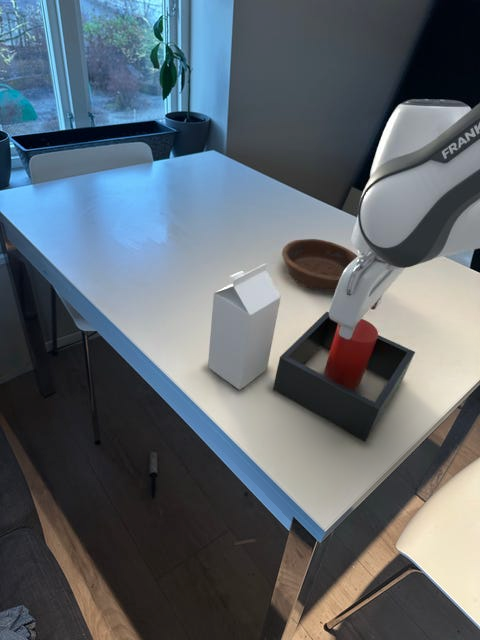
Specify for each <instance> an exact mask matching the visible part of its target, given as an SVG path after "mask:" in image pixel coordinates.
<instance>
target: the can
mask: <svg viewBox="0 0 480 640" xmlns="http://www.w3.org/2000/svg"><path fill="white" fill-rule="evenodd" d="M340 327H341V324H339V323H338V326H337V329H336V333H335V336H334V340H333V343H332V346H331V350H330V351H329V353H328V356H327V360H326V363H325V367H324V369H323V373H322V375H324V376H326V377H328V378H330V379H332V380H334V381H336V382H337V383H339V384H341V385H343V386H345V387H347V388H349V389H351V390H353V391H355V392H356V393H358V391H359V388H360V385H361V383H362V380H363V377H364V375H365V372H366V370H367V369H366V367H367V364H368V361H369V359H370V356H371V353H372V351H373V348H374V345H375V343H376V340H377V337H378V335H379V331H378V329H377V328H376V326H375V325H374V324H372V323H371V322H370V321H367V320H365V319H363V318H362V319H361V320H360V321H359V322H358V323H357V327H356V330H355V333H354V335H353V336H352V337H351V338H350V339H346V338H343V337H341V336H340V335H339V330H340Z"/></svg>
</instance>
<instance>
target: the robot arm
mask: <svg viewBox="0 0 480 640" xmlns="http://www.w3.org/2000/svg"><path fill="white" fill-rule="evenodd" d="M364 186H365V187H364V188H363V191H362V193H361V196H360V199H359V204H358V208H357V209H358V210H357V211H358V212H357V217H356V220H355V223H354V227H353V230H352V234H351V237H350V241H351V242H350V243H351V245H352V246H353V247H354V248H355V249H356V255H357V256H358V257H357V258H356V259H354V260H353V261H352V262H351V263H350V264H349V265H348V266H347V267H346V269H345V270H344V272H343V274H342V276H341V278H340V280H339V283H338V286H337V288H336V290H334V291H335V292H334V293H333V294H334V295H333V297H332V300H331V303H330V306H329V309H328V312H329V317H330V319H331V320H333V321H335V322H337V323H339V324H341V327H340V330H339V335H340V336H341V337H343V338H346V339H350V338H351V337H352V336H353V335H354V333H355V330H356V327H357V323H358V322H359V321H360V320H361V319H363V318H364V317H365V316H366V315H367V313H368V312H369V311H370V310H374V311H375V310H376V309H377V308H378V307H379V306H380V303H381V301H382V298H383V297H384V295H385V293H386V291H387V290H388V289H389V288H390V287H391V286H392V285H393V284H394V282H395V281H396V280H397V279H398V278H399V276H400V275H401V274H402V273H403V272H404V270H405V269H406V268H411V267H414V266H418V265H420V264H421V265H422V264H423V263H427V262H430V261H432V260H434V259H437V258H443V257H447V256H452V255H456V254H461V253H466V252H470V251H473V250H478V249H480V102H479V103H478V104H476V105H475V106H473V108H471V107H470V106H469V105H468V104H466V103H465V102H462V101H459V100H456V99H433V98H432V99H429V98H419V99H417V98H412V99H408V100H405V101H403V102H402V103H399V104H398V105H397V106H396V107H395V109H394V110H393V111H392V113H391V115H390V117H389V118H388V121H387V122H386V125H385V127H384V129H383V131H382V134H381V137H380V140H379V142H378V145H377V147H376V151H375V155H374V158H373V162H372V164H371V168H370V173H369V179H368V181H367V183H366V185H364Z"/></svg>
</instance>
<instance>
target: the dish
mask: <svg viewBox="0 0 480 640" xmlns="http://www.w3.org/2000/svg"><path fill="white" fill-rule="evenodd" d="M281 257H282V259H283V261H284V264H285V268H286V271H287V273H288V275H289V276H290V277H291V278H292V279H293V280H294V281H295V282H296V283H298V284H300V285H302V286H304V287H306V288H310V289H314V290H320V291H336V288H337V286H338V283H339V280H340V278H341V276H342V274H343V272H344V270H345V269H346V267H347V266H348V265H349V264H350V263H351V262H352V261H353V260H354V259H356V258H357V257H358V255H357V253H355V252H353V251H352V250H351V249H348V248H347V247H345V246H342V245H341V244H338V243H335V242H332V241H327V240H325V239H324V240H323V239H318V238H304V239H303V238H302V239H295V240H292V241H289V242H288V243H287V244H286V245H284V246H283V248H282V252H281Z"/></svg>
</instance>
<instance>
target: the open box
mask: <svg viewBox="0 0 480 640" xmlns="http://www.w3.org/2000/svg"><path fill="white" fill-rule="evenodd" d="M337 326H338V323H337V322H335V321H333V320H331V319H330V317H329V311H325V312H324V313H323V314H322V315H321V316H320V317H319V318H318V319H317V320H316V321H315V322H314V323H313V324H312V325H311V326H310V327H309V328H308V329H306V330H305V332H304V333H303V334H301V336H300V337H299V338H298V339H296V341H295V342H294V343H293V344H292V345H290V346H289V347H288V348H287V350H285V351H284V352H283V353H282V354H281V355H280V356H279V358H278V364H277V368H276V373H275V379H274V383H273V388H272V389H273V391H275V392H277V393H278V394H281V395H282V396H283V397H285V398H287V399H289V400H290V401H292V402H294V403H296V404H298V405H300V406H301V407H303V408H305V409H307V410H308V411H310V412H311V413H313V414H316V415H317V416H319V417H321V418H322V419H324V420H325V421H327V422H329V423H331V424H333V425H335V426H336V427H338V428H339V429H342V430H344V431H345V432H347V433H348V434H350V435H352V436H354V437H356V438H358V439H359V440H361V441H363V442H364V443H366V442H367V441H368V439H369V437H370V435H371V433H372V432H373V430H375V427H376V426H377V424H378V422H379V421H380V419H381V417H382V416H383V414H384V412H385V411H386V409H387V407H389V404H390V402H391V401H392V399H393V398H394V396H395V394H396V393H397V391H398V389H399V387H400V386H401V385H402V383H403V381H404V378H405V376H406V373H407V371H408V369H409V367H410V365H411V363H412V361H413V358H414V356H415V354H416V351H414V350H412V349H410V348H408V347H406V346H404V345H401V344H399V343H397V342H395V341H393V340H390V339H388V338H386V337H384V336H382V335H379V334H378V337H377V340H376V343H375V345H374V348H373V351H372V353H371V356H370V359H369V361H368V364H367V367H366V369H365V370H367V371H370V372H371V373H373V374H375V375H377V376H380V377H381V378H383V379H385V380H387V381H388V382H387V383H386V384H385V386H384V387H383V389H382V390H381V392H380V393H379V394H378V397H377V399H376V400H375V401H374V400H372V399H370V398H368V397H366V396H364V395H363V394H361V393H358V392H357V393H356V392H355V391H353V390H351V389H349V388H347V387H345V386H343V385H341V384H339V383H337V382H336V381H334V380H332V379H330V378H328V377H326V376H324V375H323V373H320V372H319V371H317V370H316V369H315V370H314V369H313V368H311V367H309V366H307V365H305V364H306V363H307V362H308V361H309V360H310V359H311V357H313V355H314V354H316V352H317V351H318V350H319V349H320V348H323V349H325V350H327V351H329V352H330V350H331V346H332V343H333V340H334V336H335V333H336V329H337Z"/></svg>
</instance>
